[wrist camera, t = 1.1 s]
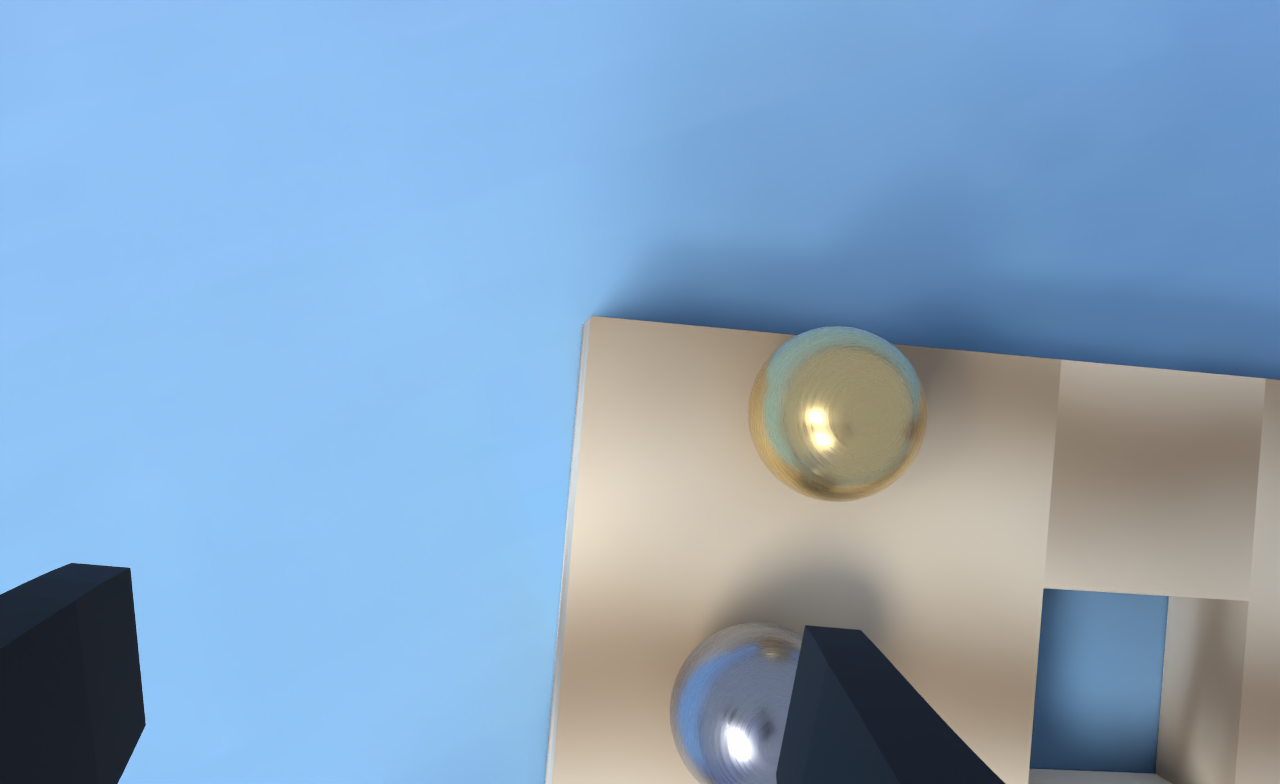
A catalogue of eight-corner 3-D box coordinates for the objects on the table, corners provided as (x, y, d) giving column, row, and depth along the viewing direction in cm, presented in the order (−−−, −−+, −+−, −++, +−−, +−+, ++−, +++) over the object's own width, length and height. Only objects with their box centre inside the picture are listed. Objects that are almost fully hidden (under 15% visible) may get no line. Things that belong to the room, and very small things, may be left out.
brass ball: (880, 497, 20) (950, 518, 16) (724, 486, 19) (765, 505, 16) (893, 339, 20) (965, 328, 16) (738, 324, 19) (780, 310, 16)
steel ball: (810, 770, 19) (867, 845, 16) (651, 764, 19) (677, 839, 16) (823, 609, 19) (882, 652, 16) (665, 600, 19) (694, 642, 16)
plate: (1241, 1017, 23) (1327, 1091, 21) (525, 1011, 21) (526, 1095, 19) (1289, 389, 23) (1380, 389, 21) (582, 324, 21) (590, 315, 19)
